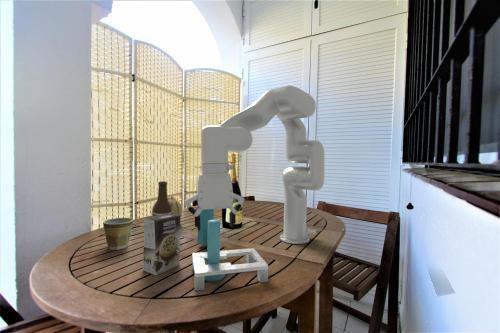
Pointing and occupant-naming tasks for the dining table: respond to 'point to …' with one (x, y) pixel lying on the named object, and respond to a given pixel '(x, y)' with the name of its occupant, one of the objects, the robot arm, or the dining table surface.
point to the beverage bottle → (204, 225)
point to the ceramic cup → (117, 232)
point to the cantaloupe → (173, 206)
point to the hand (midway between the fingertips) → (215, 227)
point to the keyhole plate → (228, 265)
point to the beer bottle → (162, 201)
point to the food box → (161, 243)
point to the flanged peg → (213, 248)
